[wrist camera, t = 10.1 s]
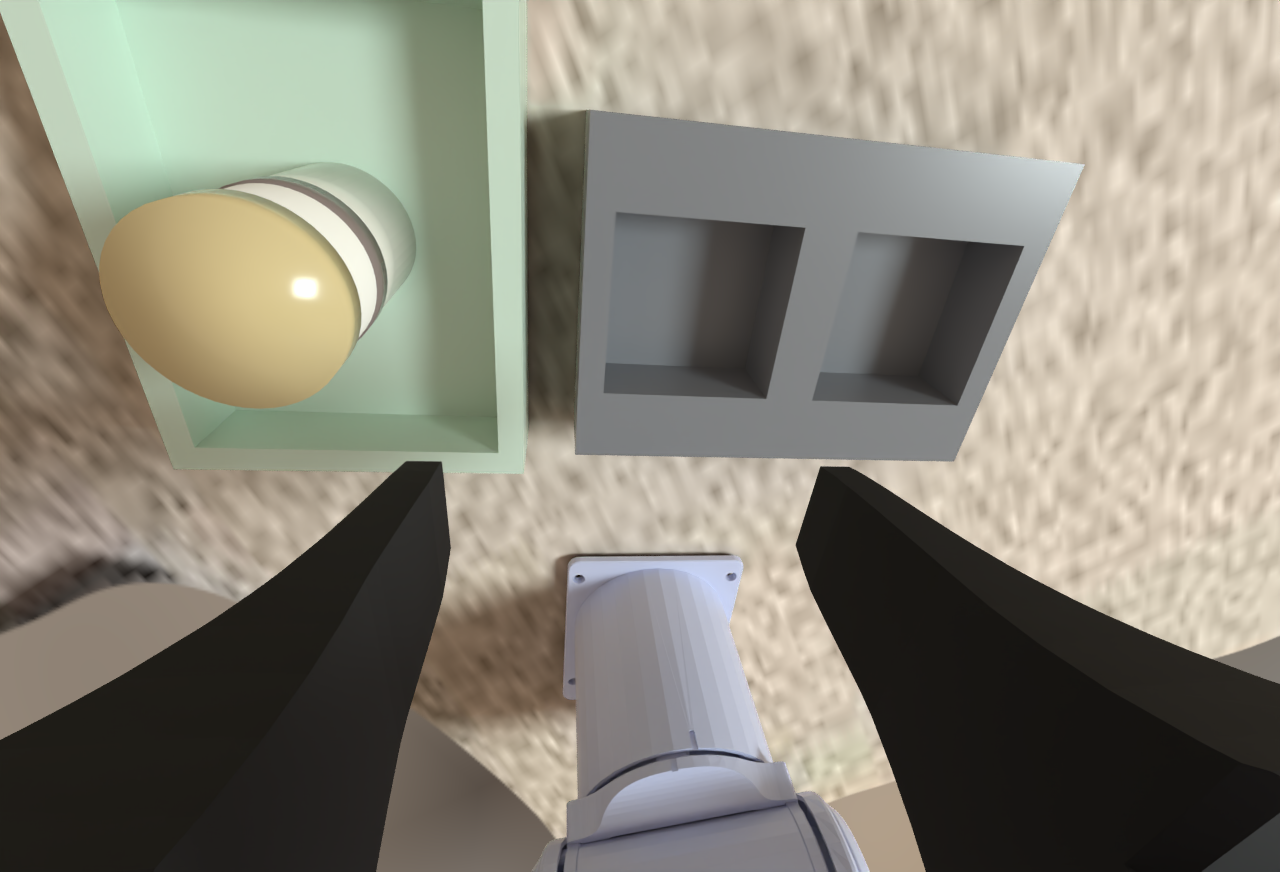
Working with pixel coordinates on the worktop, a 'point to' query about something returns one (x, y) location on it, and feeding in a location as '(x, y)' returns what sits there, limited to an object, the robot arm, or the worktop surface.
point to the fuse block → (796, 289)
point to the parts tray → (305, 134)
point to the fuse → (257, 280)
